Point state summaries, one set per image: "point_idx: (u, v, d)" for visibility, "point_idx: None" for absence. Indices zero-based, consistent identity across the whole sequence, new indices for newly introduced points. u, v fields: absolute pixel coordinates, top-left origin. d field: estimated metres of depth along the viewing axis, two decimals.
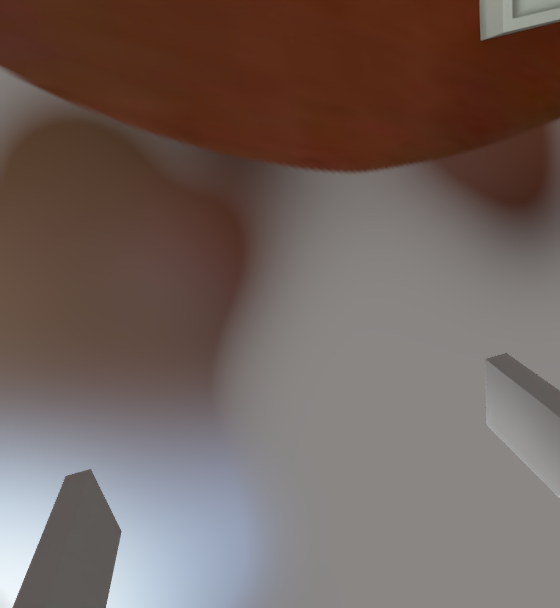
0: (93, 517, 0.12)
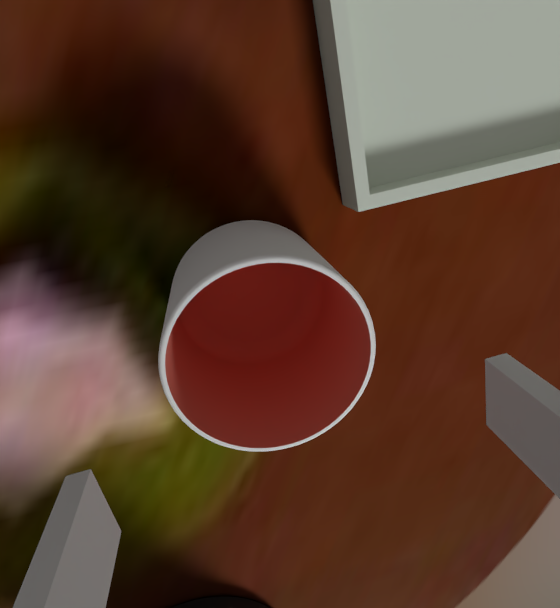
0: (93, 517, 0.12)
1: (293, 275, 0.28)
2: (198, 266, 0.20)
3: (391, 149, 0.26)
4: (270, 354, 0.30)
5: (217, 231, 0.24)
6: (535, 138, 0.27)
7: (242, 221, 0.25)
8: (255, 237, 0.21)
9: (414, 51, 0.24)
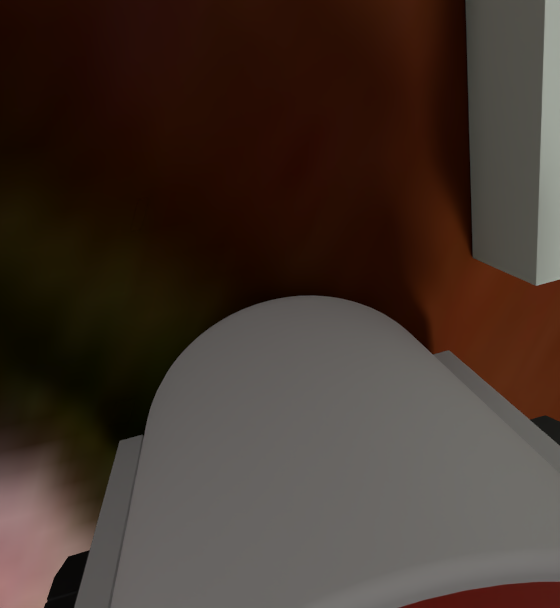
0: None
1: None
2: (200, 495, 0.07)
3: None
4: None
5: (240, 329, 0.11)
6: None
7: (290, 301, 0.12)
8: (350, 388, 0.08)
9: None
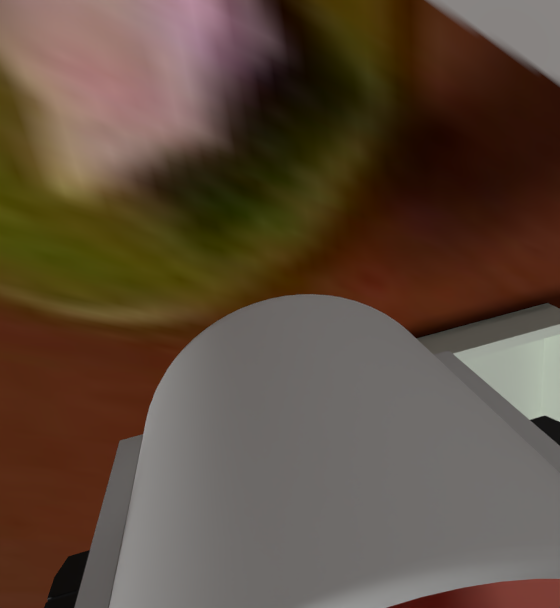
0: None
1: None
2: (198, 494, 0.07)
3: None
4: None
5: (239, 328, 0.11)
6: None
7: (289, 300, 0.12)
8: (348, 386, 0.08)
9: None
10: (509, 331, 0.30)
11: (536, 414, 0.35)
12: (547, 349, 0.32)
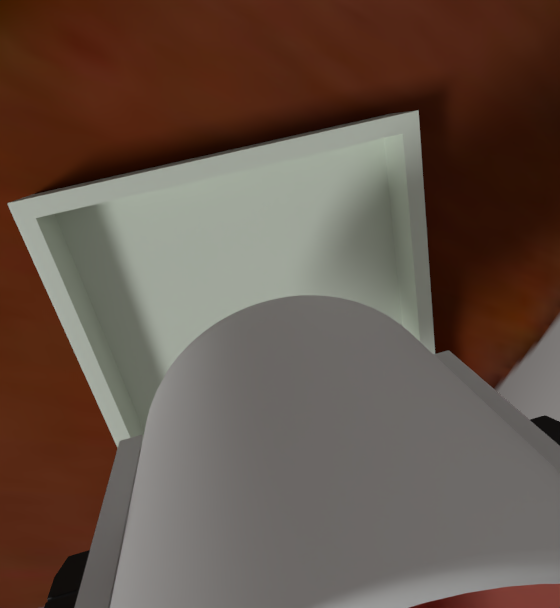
0: None
1: None
2: (199, 496, 0.07)
3: (113, 251, 0.21)
4: None
5: (240, 329, 0.11)
6: None
7: (290, 301, 0.12)
8: (350, 388, 0.08)
9: (223, 263, 0.22)
10: (310, 133, 0.19)
11: (393, 296, 0.24)
12: (391, 184, 0.21)
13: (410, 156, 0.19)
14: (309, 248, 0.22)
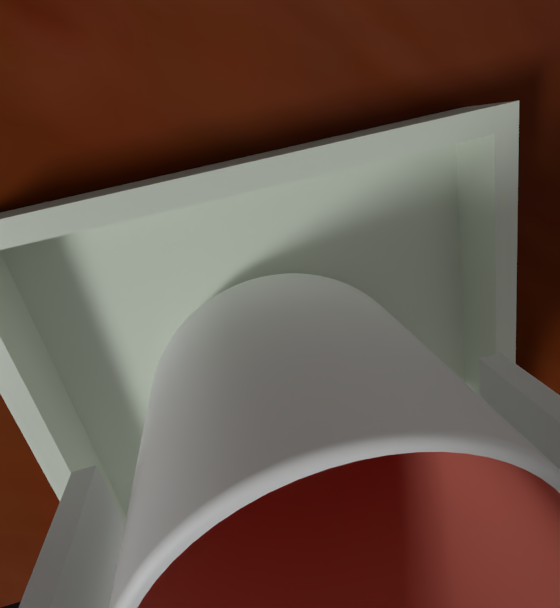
0: (99, 512, 0.12)
1: None
2: (199, 415, 0.09)
3: (83, 297, 0.15)
4: (313, 476, 0.18)
5: (233, 300, 0.13)
6: None
7: (276, 277, 0.14)
8: (319, 337, 0.10)
9: None
10: (361, 134, 0.13)
11: (456, 347, 0.18)
12: (463, 203, 0.16)
13: (503, 166, 0.14)
14: None
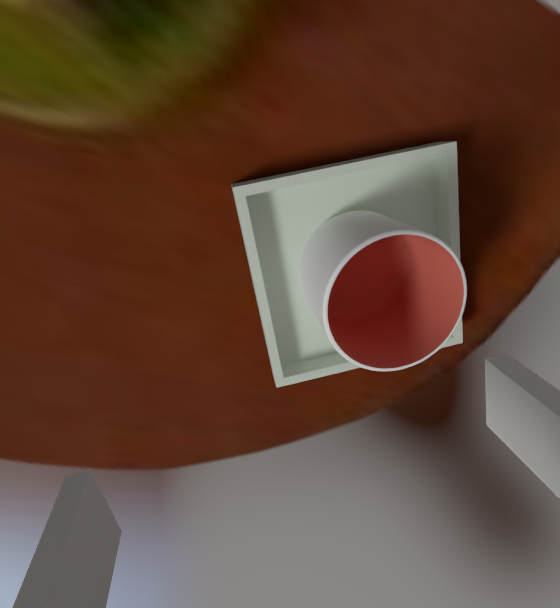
0: (93, 517, 0.12)
1: (386, 254, 0.37)
2: (345, 238, 0.29)
3: (272, 219, 0.35)
4: (364, 315, 0.38)
5: (341, 217, 0.33)
6: (278, 327, 0.39)
7: (356, 211, 0.34)
8: (380, 220, 0.30)
9: None
10: (394, 153, 0.33)
11: None
12: (437, 183, 0.36)
13: (451, 167, 0.34)
14: None
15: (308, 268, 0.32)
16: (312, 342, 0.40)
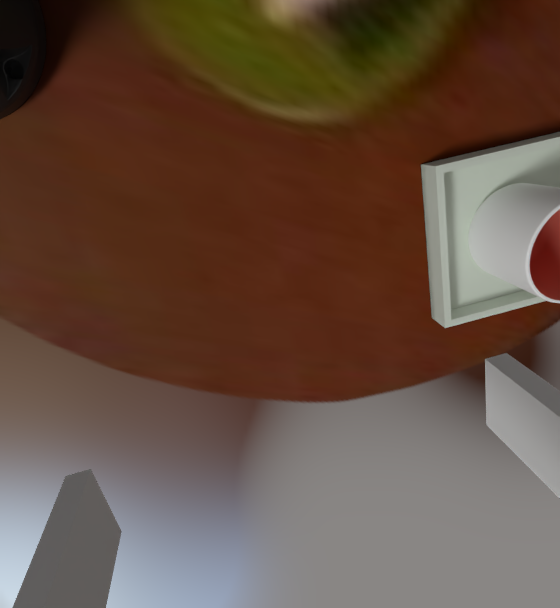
0: (93, 517, 0.12)
1: None
2: (536, 202, 0.38)
3: (451, 191, 0.44)
4: None
5: (511, 188, 0.43)
6: None
7: (520, 183, 0.44)
8: (557, 188, 0.39)
9: None
10: (552, 137, 0.43)
11: None
12: None
13: None
14: None
15: (492, 228, 0.42)
16: (467, 292, 0.49)
